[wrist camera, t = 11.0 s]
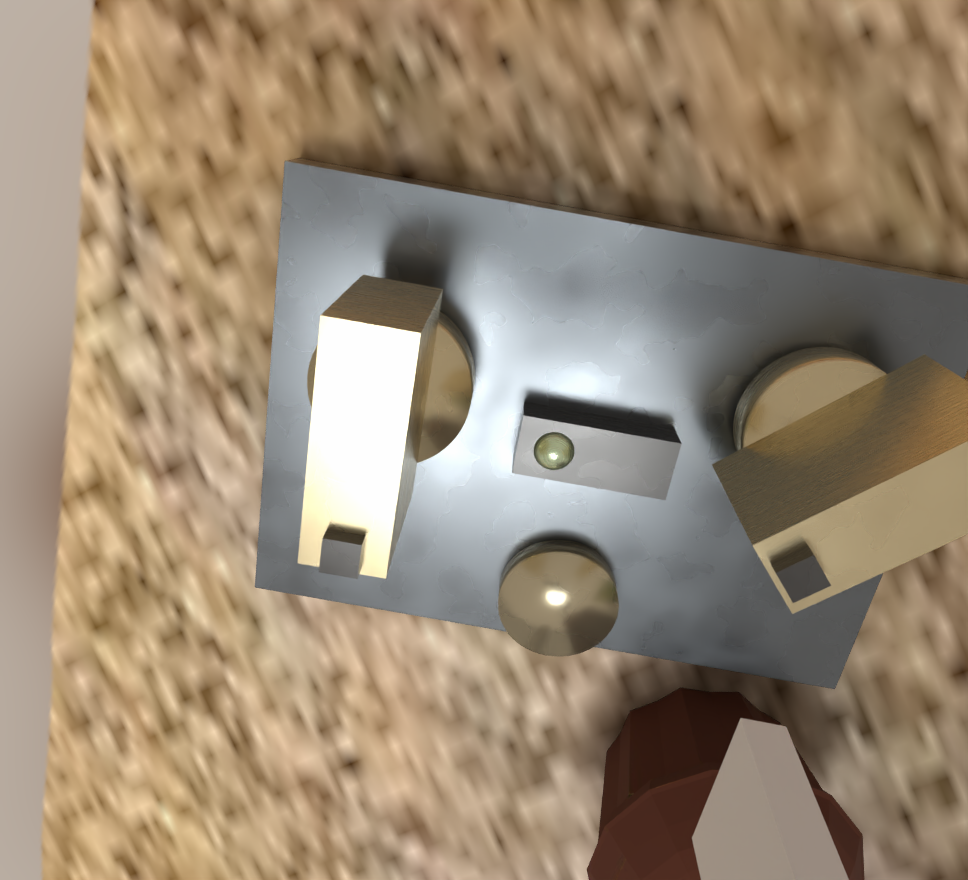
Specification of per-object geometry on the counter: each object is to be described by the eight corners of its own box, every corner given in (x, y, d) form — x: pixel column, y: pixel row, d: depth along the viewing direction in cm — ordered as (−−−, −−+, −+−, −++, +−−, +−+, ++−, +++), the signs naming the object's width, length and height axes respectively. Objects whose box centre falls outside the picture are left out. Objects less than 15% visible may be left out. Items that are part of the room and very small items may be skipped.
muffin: (699, 622, 37) (753, 790, 28) (864, 748, 40) (965, 942, 30) (533, 770, 41) (533, 961, 32) (692, 877, 43) (735, 1085, 34)
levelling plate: (972, 280, 31) (1035, 304, 27) (820, 660, 38) (852, 723, 34) (299, 157, 31) (265, 164, 27) (268, 563, 38) (238, 616, 34)
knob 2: (882, 302, 29) (1013, 374, 21) (944, 435, 31) (1087, 547, 23) (682, 410, 31) (733, 513, 23) (750, 529, 33) (820, 663, 25)
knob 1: (330, 256, 30) (255, 309, 22) (491, 285, 30) (476, 349, 22) (311, 454, 33) (240, 564, 25) (458, 480, 33) (434, 598, 25)
